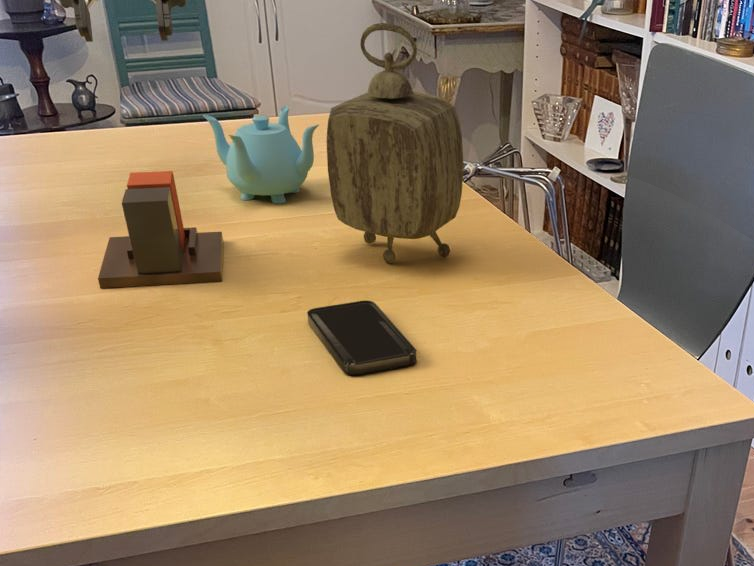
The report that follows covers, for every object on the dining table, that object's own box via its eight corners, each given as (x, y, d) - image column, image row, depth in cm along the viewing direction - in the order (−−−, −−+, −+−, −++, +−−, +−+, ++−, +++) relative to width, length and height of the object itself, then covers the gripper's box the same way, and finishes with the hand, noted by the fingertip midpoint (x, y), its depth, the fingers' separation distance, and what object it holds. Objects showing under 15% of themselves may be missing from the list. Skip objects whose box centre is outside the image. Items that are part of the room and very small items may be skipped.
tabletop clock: (463, 255, 119) (463, 23, 102) (432, 280, 113) (426, 37, 96) (364, 237, 123) (348, 12, 107) (328, 260, 117) (306, 24, 101)
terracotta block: (142, 254, 115) (126, 185, 109) (145, 240, 118) (130, 172, 113) (184, 252, 115) (170, 183, 110) (185, 238, 119) (172, 170, 114)
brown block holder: (100, 288, 110) (78, 206, 104) (111, 246, 120) (92, 169, 114) (222, 281, 112) (208, 200, 106) (223, 240, 122) (210, 164, 116)
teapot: (240, 214, 130) (228, 133, 123) (212, 187, 139) (199, 110, 132) (327, 200, 135) (320, 122, 128) (295, 175, 143) (287, 101, 136)
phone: (346, 366, 93) (304, 309, 103) (347, 377, 94) (305, 319, 104) (420, 353, 95) (372, 298, 105) (420, 363, 96) (373, 308, 106)
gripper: (37, -125, 105) (52, 14, 104) (167, -123, 107) (183, 12, 107) (57, -70, 113) (71, 59, 112) (179, -70, 115) (193, 57, 114)
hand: (125, 36), depth 109 cm, fingers open, 8 cm apart
